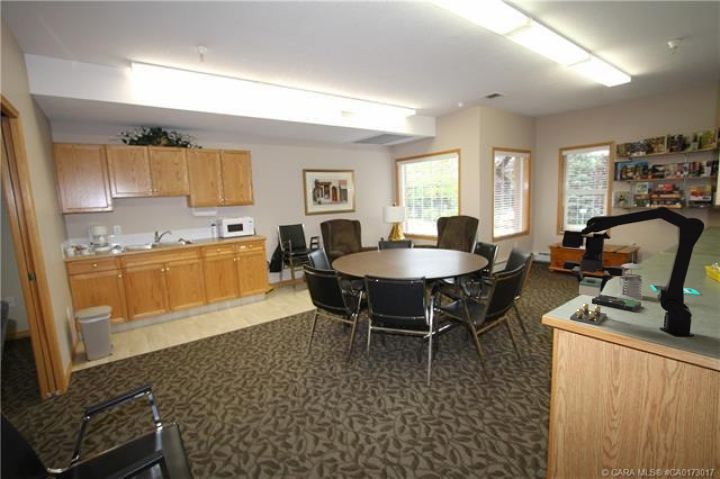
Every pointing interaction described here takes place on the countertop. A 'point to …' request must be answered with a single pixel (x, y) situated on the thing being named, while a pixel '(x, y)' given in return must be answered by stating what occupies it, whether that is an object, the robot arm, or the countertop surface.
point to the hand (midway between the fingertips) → (591, 289)
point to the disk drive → (617, 303)
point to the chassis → (589, 315)
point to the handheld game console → (686, 290)
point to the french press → (631, 282)
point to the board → (590, 287)
